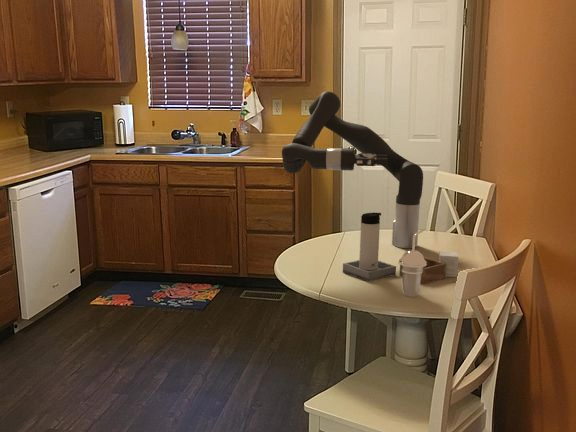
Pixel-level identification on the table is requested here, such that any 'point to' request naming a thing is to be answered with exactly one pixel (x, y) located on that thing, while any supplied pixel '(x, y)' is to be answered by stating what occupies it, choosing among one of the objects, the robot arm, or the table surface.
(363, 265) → the travel mug
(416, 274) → the cup with straw
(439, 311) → the table surface
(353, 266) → the slate tray
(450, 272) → the product box
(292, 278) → the table surface
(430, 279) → the walnut holder
